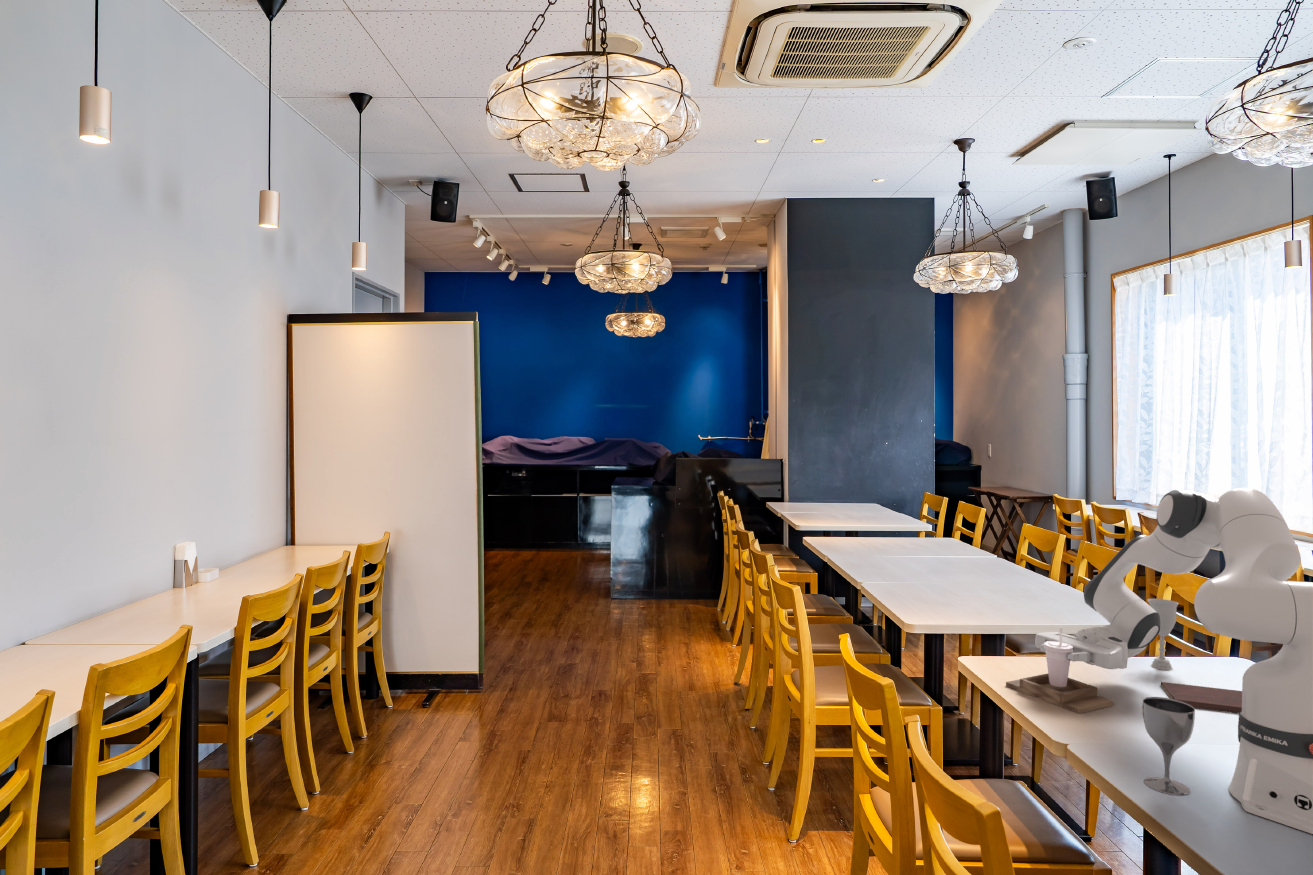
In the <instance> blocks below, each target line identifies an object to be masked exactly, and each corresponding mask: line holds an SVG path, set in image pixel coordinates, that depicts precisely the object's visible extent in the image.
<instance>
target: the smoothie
mask: <svg viewBox="0 0 1313 875" xmlns="http://www.w3.org/2000/svg"><path fill="white" fill-rule="evenodd" d="M1059 632H1060V642H1056V641H1049V642H1045V643H1044V648H1045V650H1046V653H1045V657H1046V658H1045V660H1046V666H1047V674H1048V675H1049V683H1050V684H1051V685H1053V686H1057V687H1065V686H1067V679H1068V678H1069V673H1070V672H1069V671H1070V665H1071V661H1070V660H1068V659H1067V657H1068V656H1067V654H1068V653H1070V652H1073V646H1072V645H1070V644H1067V643H1063V642H1062V633H1063V627H1062V626H1059Z"/></svg>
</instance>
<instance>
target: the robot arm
mask: <svg viewBox="0 0 1313 875" xmlns="http://www.w3.org/2000/svg"><path fill="white" fill-rule="evenodd" d="M1156 522H1157V526H1156V527H1155V529H1154V531H1153V532H1151V534H1149V535H1147V534H1141V535H1138V536H1136V537H1134V538H1132V539H1131V540H1129V541H1128V542H1127V543H1126V544H1125V545H1124V546H1122V548H1121V549H1120V550H1119V551H1118V552H1117V553H1116V554H1115V555H1114V556H1113V557H1112V559H1110V561H1109V562H1108V563H1107V564H1106V565H1105V566H1104V567H1103V569H1101V571H1100V572H1099V573H1098V574H1096V575H1095V576H1094V577H1092V578H1091V579H1090V580H1089V581H1088V582H1087V584H1085V586H1084V588H1083V599H1084V603H1085V604H1086V605H1088V606H1089V607H1090V608H1091V609H1092V610H1093V611H1095V612H1096V613H1097V614H1099V615H1100V616H1101V617H1102V618H1104V620H1106V621H1107V622H1108V623H1109V624H1106V625H1103V626H1093V627H1088V628H1082V629H1080V630H1078V631H1077V632H1076V633H1075V635H1071V634H1067V633H1063V632H1062V642H1063V643H1067V644H1070V645H1072V646H1073V652H1070V653H1068V654H1067V656H1068V657H1067V659H1068V660H1070V662H1083V663H1085V664H1088V665H1090V666H1096V667H1099V668H1102V669H1108V670H1117V669H1120V670H1123V669H1126V668H1127V667H1128V661H1129V660H1128V659H1130V658H1133V657H1134V656H1137V655H1139V654H1140V653H1141V652H1143V651H1144V650H1145V649H1146V648H1147V646H1149V645H1150V644H1151V643H1152V642H1153V641H1155V639H1156V638H1157V637H1158V634H1159V632H1160V626H1161V619H1160V615H1159V613H1157V612H1156V611H1155V610H1154V609H1153V608H1152V607H1151V606H1150V604H1149V603H1147V602H1146V601H1144V600H1143V599H1142V598H1141V597H1140V596H1138V595H1137V594H1136V593H1135V592H1133V590H1131V589H1130V588H1129V587H1128V586H1127V584H1126V583H1125V581H1124V578H1125V577H1126V576H1127V575H1128V574H1129V573H1130V572H1131V571H1132V570H1133V569H1134V568H1135V566H1137V565H1141V566H1144V567H1147V568H1149V569H1151V570H1154V571H1156V572H1160V573H1163V574H1168V575H1169V574H1170V575H1183V574H1188V573H1190V572H1193V571H1195V569H1197V568H1198V567H1199V566H1200V565H1201V564H1202V562H1203V561H1204V560H1205V558H1206V556H1207V555H1208V553H1209V552H1210V550H1211V549H1216V550H1220V551H1221V550H1222V554H1223V557H1224V561H1225V567H1224V569H1223V570H1222V572H1221V573H1219V574H1218V575H1217V576H1214V577H1212V578H1210V579H1207V580H1206V581H1204V582H1203V583H1202V584H1201V585H1200V586H1199V588H1198V590H1197V592H1195V593H1196V594H1195V596H1194V601H1193V602H1194V603H1193V604H1194V611H1195V612H1194V613H1195V614H1196V616H1197V619H1198V621H1199V622H1200V623H1201V625H1202V626H1203V627H1204V628H1205V629H1206V630H1207V631H1208V632H1210V633H1213V634H1216V635H1220V636H1223V637H1228V638H1230V639H1235V640H1240V641H1248V642H1249V641H1251V642H1261V643H1273V644H1282V647H1281V648H1280V650H1279V651H1278V652H1277V653H1275V655H1273V656H1272V657H1270V658H1268V659H1265V660H1262V661H1261V660H1260V661H1257V662H1256V663H1253V664H1251V665H1250V666H1249V667H1248V668H1247V669H1246V670H1245V671H1244V673H1243V675H1242V684H1241V685H1242V686H1241V691H1242V712H1240V713H1239V714H1238V721H1237V722H1238V724H1237V740H1238V744H1239V747H1238V754H1237V760H1236V766H1235V769H1234V772H1233V776H1232V778H1231V781H1230V783H1229V785H1228V792H1229V794H1231V795H1232V796H1233V797H1234V798H1235V799H1236V800H1237V801H1238V802H1240V803H1241V806H1242V809H1243V810H1244V811H1246V812H1248V813H1250V814H1252V815H1254V816H1255V815H1256V816H1259V817H1261V818H1265V819H1267V820H1270V821H1273V822H1276V823H1279V824H1282V825H1285V826H1287V827H1291V828H1294V829H1296V830H1299V831H1302V832H1305V833H1308V834H1311V835H1313V582H1311V581H1297V580H1288V579H1290V578H1291V577H1292V576H1294V575H1295V574H1296V573H1297V571H1299V568H1300V566H1301V561H1302V560H1301V558H1302V557H1301V553H1300V551H1299V549H1298V547H1297V544H1296V542H1295V539H1294V538H1293V535H1292V532H1291V531H1290V528H1289V526H1288V524H1287V522H1286V520H1285V518H1284V516H1283V515H1282V514H1281V512H1280V510H1279V509H1278V507H1277V506H1276V505H1275V503H1274V502H1273V501H1272V500H1271V499H1270V498H1269V497H1268V495H1266V494H1265V493H1264V492H1262V491H1259V490H1258V489H1255V488H1250V487H1249V488H1248V487H1240V488H1232V489H1230V490H1228V491H1226V492H1224V493H1223V494H1221V495H1217V494H1210V493H1204V492H1197V491H1194V490H1191V489H1173V490H1171V491H1168V492H1167V493H1165V495H1163V496H1162V497H1161V499H1160V501H1159V504H1158V506H1157V510H1156ZM1034 640H1035V641H1034V642H1035V647H1036V648H1037V649H1040V650H1039V651H1040V652H1042V653H1045V654H1046V650H1045V648H1044V643H1045V642H1049V641H1056V642H1060V631H1059V632H1058V631H1044V632H1038V633H1036V634H1035V639H1034Z"/></svg>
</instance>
